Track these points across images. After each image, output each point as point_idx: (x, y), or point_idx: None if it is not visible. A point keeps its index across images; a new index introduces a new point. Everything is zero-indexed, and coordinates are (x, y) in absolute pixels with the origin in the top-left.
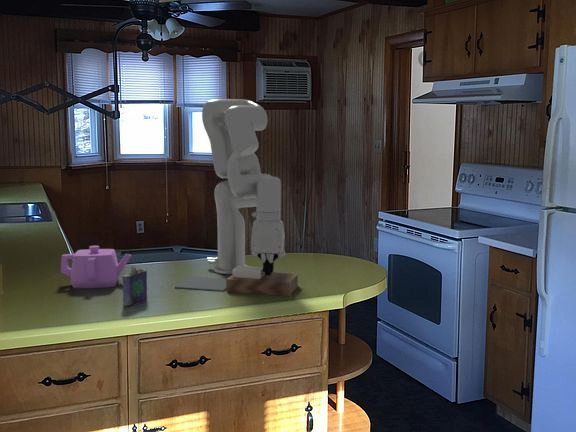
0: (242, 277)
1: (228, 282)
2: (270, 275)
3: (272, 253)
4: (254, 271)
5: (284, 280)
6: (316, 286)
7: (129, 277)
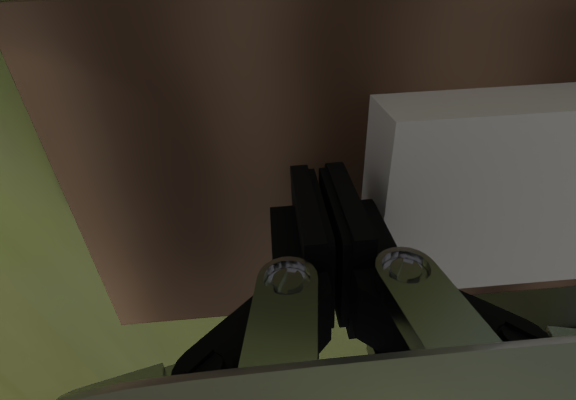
0: (557, 84)
1: None
2: None
3: (227, 372)
4: (467, 116)
5: (106, 109)
6: (39, 286)
7: None
